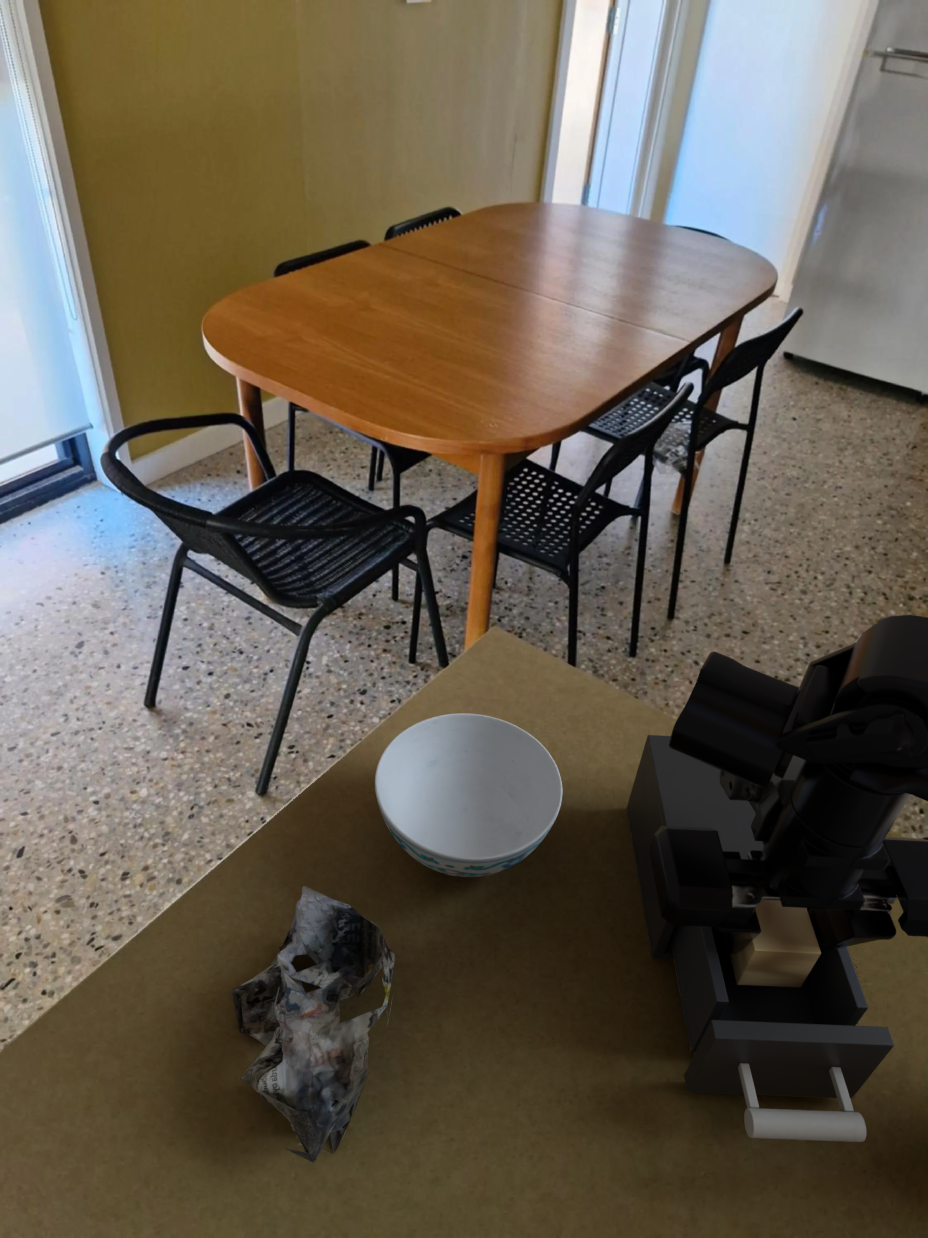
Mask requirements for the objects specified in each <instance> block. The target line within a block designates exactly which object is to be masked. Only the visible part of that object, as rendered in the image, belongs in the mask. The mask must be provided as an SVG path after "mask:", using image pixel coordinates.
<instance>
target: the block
mask: <svg viewBox="0 0 928 1238" xmlns="http://www.w3.org/2000/svg"><path fill="white" fill-rule="evenodd" d="M755 910H756V913H757V917H758V920H759V924H760V928H761V933H760V934H759V935H758V936H757V937H756V938H755V939H753V940H752V941H751V942H750V943H749V944H748V945H747V946H746V947H745V948H744V949H743V950H742V951H740V952H738V953H736V954H730V952H729V954H730V958H731V962H732V966H733V970H734V974H735V979H736V983H737V985H756V986H779V987H801V986H802V984H803V982H804V981H805V979H806V977H807V976H808V974H809V973H810V971H811V969H812V968H813V966H814V964H815V963H816V961H817V959H818V958H819V956H820V954H821V951H820V948H819V945H818V942H817V939H816V936H815V933H814V929H813V926H812V923H811V920H810V917H809V914H808V911H807V908H797V907H782V905H781V901H777V900H761V902H760V904H759V906H758V907H757V908H756V909H755ZM724 933H725V937H726V932H724ZM726 941H727V938H726ZM727 945H728V944H727ZM728 949H729V948H728Z"/></svg>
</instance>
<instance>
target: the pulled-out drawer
mask: <svg viewBox="0 0 928 1238" xmlns="http://www.w3.org/2000/svg"><path fill="white" fill-rule="evenodd" d="M810 909H811V908H807V911H808V912H809V911H810ZM670 944H671V949H672V955H673V960H672V961H673V964H674V970H675V971H674V972H675V975H676V980H677V985H678V991H679V996H680V1002H681V1007H682V1012H683V1018H684V1024H685V1029H686V1034H687V1040H688V1045H689V1049H690V1053H691V1054H693V1055H692V1057H691V1058H690V1059H691V1060H690V1062H689V1063H688V1064H687V1068H686V1069H685V1072H684V1073H683V1079H684V1084H685V1090H686V1093H695V1094H719V1095H720V1094H722V1095H743V1096H744V1100H745V1104H746V1108H745V1110H744V1116H743V1119H744V1128H745V1131H746V1134H747V1136H748V1137H749V1138H750V1139H770V1140H795V1141H796V1140H797V1141H798V1140H799V1141H820V1142H821V1141H825V1142H851V1143H852V1142H853V1143H864V1142H865V1141H866V1138H867V1125H866V1122H865V1118H864V1117H863V1115H862V1114H861V1113H860V1112H858V1111H854V1107H853V1103H852V1099H853V1098H854V1097H855V1096H856V1094H857V1093H858V1092H859V1090H861V1088H862V1087H863V1086H864V1084H865V1083H866V1082H867V1081H868V1080H869V1078H870V1077H871V1076H872V1074H873V1073H874V1072H875V1071H876V1069H877V1068H878V1067H879V1066H880V1065H881V1063H882V1062H883V1060H884V1059H885V1058H886V1057H887V1056H888V1054H889V1053H890V1051H891V1050H892V1049H893V1048H894V1047H895V1043H894V1040H893V1038H892V1034H891V1032H890V1029H889V1027H888V1026H871V1025H870V1026H869V1025H857V1024H858V1023H859V1021H860V1020H861V1019H862V1017H863V1016H864V1015H865V1013H866V1012H867V1011H868V1009H869V1005H868V1002H867V999H866V997H865V993H864V990H863V988H862V986H861V985H862V984H861V983H860V980H859V977H858V974H857V971H856V969H855V966H854V963H853V959H852V957H851V954H850V951H849V949H848V946H847V947H843V948H839V949H834V950H830V951H826V952H822V953H821V954H820V956H819V958H818V959H817V961H816V963H815V964H814V966H813V968H812V969H811V971H810V973H809V974H808V976H807V977H806V979H805V981H804V982H803V984H802V986H801V987H779V986H756V985H737V983H736V979H735V974H734V970H733V966H732V962H731V958H730V954H729V949H728V945H727V941H726V937H725V933H724V932H720V931H718V930H716V929H715V928H714V927H705V926H683V925H675V927H674V929H673V932H672V935H671V937H670ZM757 1096H774V1097H796V1098H797V1097H798V1098H799V1097H800V1098H821V1099H822V1098H824V1099H837V1102H838V1105H839V1108H840V1111H839V1110H838V1111H837V1110H836V1111H834V1110H813V1109H812V1110H811V1109H810V1110H809V1109H783V1108H761V1107H760V1106H759V1100H758V1097H757Z"/></svg>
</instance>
